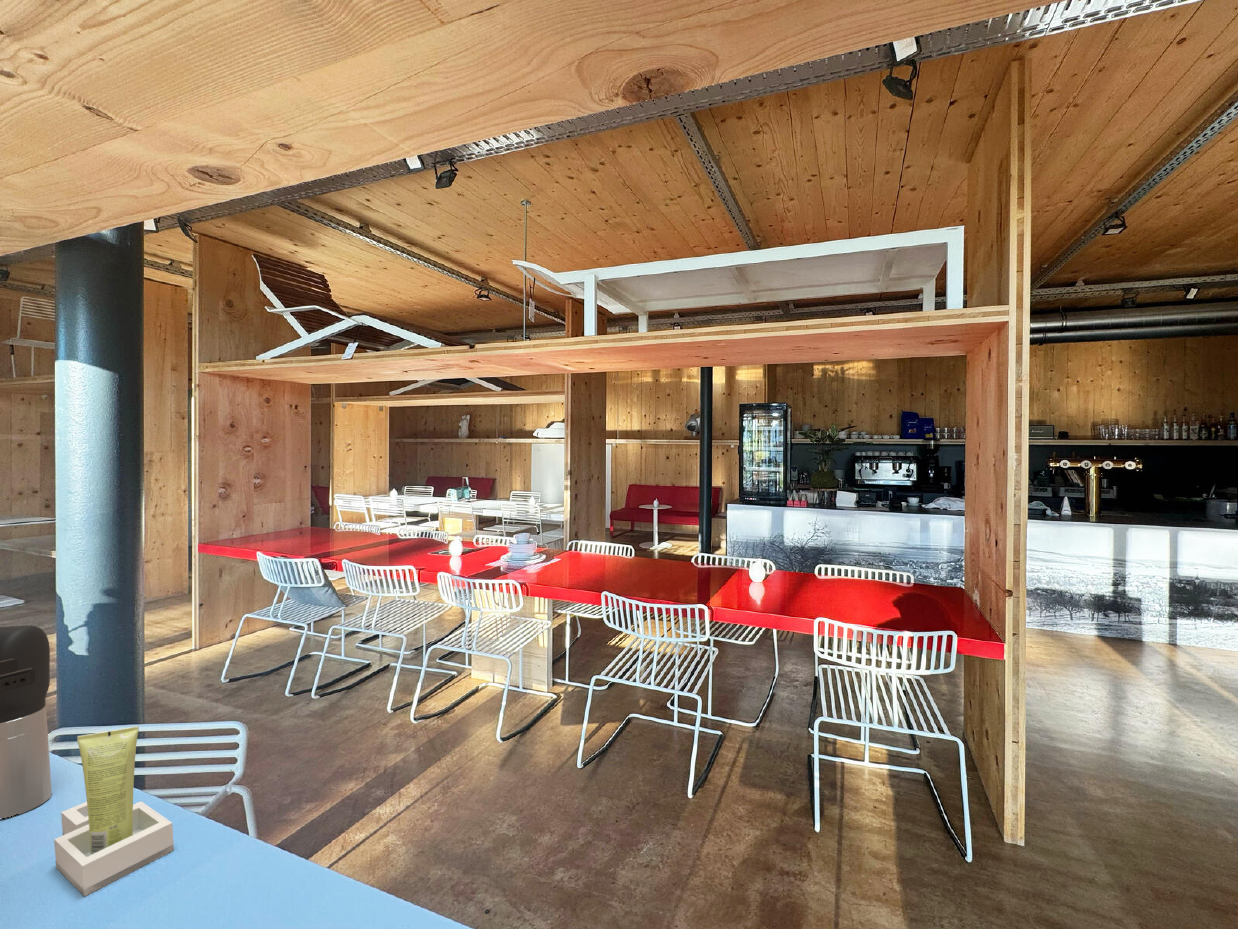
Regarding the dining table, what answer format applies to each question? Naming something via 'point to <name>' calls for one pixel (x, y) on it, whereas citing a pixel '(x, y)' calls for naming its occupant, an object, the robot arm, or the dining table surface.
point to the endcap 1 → (74, 818)
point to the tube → (109, 784)
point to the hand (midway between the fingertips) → (25, 670)
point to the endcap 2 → (113, 851)
